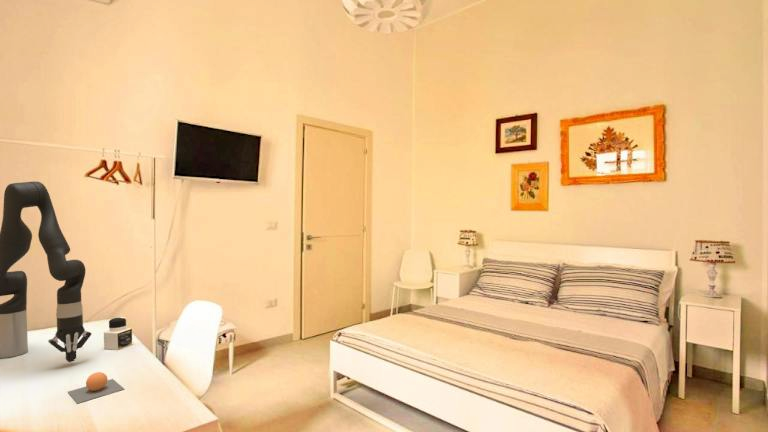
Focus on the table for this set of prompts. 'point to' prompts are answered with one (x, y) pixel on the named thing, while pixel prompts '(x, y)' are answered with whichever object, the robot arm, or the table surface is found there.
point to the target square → (94, 392)
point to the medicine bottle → (117, 334)
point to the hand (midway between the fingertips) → (71, 361)
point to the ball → (96, 381)
